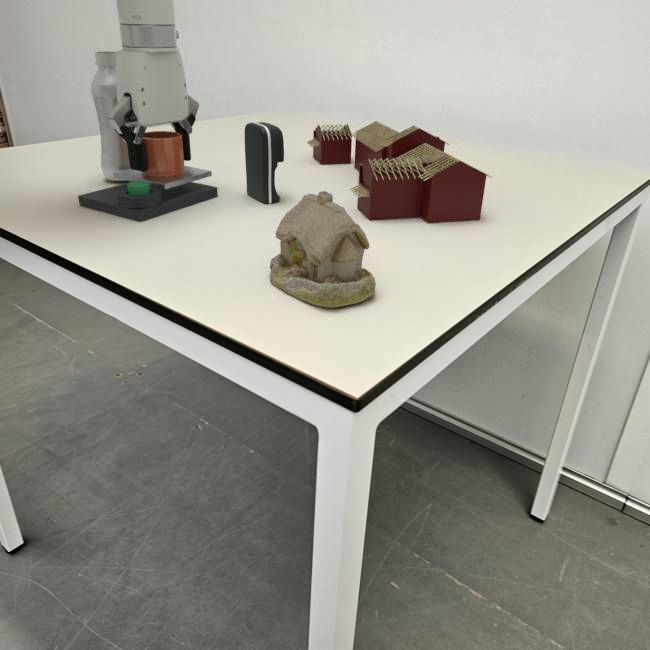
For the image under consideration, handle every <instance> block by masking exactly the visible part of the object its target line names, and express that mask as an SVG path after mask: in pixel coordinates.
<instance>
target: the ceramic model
mask: <svg viewBox="0 0 650 650" xmlns="http://www.w3.org/2000/svg"><path fill="white" fill-rule="evenodd" d="M333 197H334V196H333V194H332V192H327V190H322V191H321V190H320V191H319V192H318V193H317V194H314V193H307V194H303V196H302V198H301V199H300V201H299V202H298V203H296V204H295V205H294V206H293V207H292V208H291V209H289V211H286V212H285V214H284V216H283V217H282V218H281V220H280V221H279V224H278V226H277V228H276V231H275V238H276V239H277V240H279V241H280V242H279V244H280V245H279V246H280V253H278V254H277V255H275V256H274V257H272V258H271V259H270V264H269V269H270V275H269V279H270V282H271V284H272V285H273V286H275V287H277V288H278V289H280V290H282V291H283V292H285V293H287V294H289V295H291V296H293V297H295V298H297V299H299V300H301V301H303V302H306V303H308V304H310V305H313V306H317V307H321V308H332V309H333V308H338V307H339V308H341V307H346V306H349V305H355V304H359V303H361V302H363V301H365V300H367V299H369V298H370V297H372V296H373V295H374V294H375V292H376V291H375V289H376V285H377V282H376V279H375V276H373V274H372V273H371V271H369V270H367V269H366V268H364V267H363V259H364V253H365V250H369V248H370V243H369V240H368V237H367V235H366V232H365V231H364V230H363V229H362V228H361V226H360V224H359V223H356V221H355V220H354V219H353V218H352V217H351V215H350V214H349V213H348V212H347V211H346V208H345V207H343V206H341V205H340V204H338V203H336V202H334V198H333Z"/></svg>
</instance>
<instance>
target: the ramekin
mask: <svg viewBox="0 0 650 650" xmlns="http://www.w3.org/2000/svg"><path fill="white" fill-rule="evenodd" d="M141 143H144V144H145V146H146V153H147V162H148V171H146V172H142V171H141V173H142V174H144V175H147V176H152V177H169V176H176V175H180V174H182V173H184V172H185V166H186V165H185V160H184V155H183V143H182V134H181V133H178V132H175V131H172V130H154V131H153V130H152V131H151V130H150V131H145V134H144V136H143V139H142V142H141Z"/></svg>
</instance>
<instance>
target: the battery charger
mask: <svg viewBox="0 0 650 650" xmlns="http://www.w3.org/2000/svg"><path fill="white" fill-rule="evenodd" d="M244 156H245V157H244V160H245V175H246V176H245V177H246V193H247V195H249V196H250V197H252V198H254V199H255V200H257V201H259V202H261V203H263V204H272V203H276V202H279V201H280V200H281V196H280V195H279V194H278V192H277V189H276V183H275V181H276V180H275V179H276V170H277V168H278V165H279V163H284V161H285V143H284V134H283V131H282V130H281V128H280V127H278V126H277V125H274V124H272V123H269V122H265V121H259V122H255V121H253V122H252V121H251V122H248V123H246V125H245V127H244Z"/></svg>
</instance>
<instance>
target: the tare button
mask: <svg viewBox="0 0 650 650" xmlns="http://www.w3.org/2000/svg"><path fill="white" fill-rule="evenodd" d="M129 182H130V181H129ZM129 182H127V183H128V184H127V186H128V193H129V195H137V196H139V195H147V194H150V185H149V182H145V181H134V182H130V183H129Z"/></svg>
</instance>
